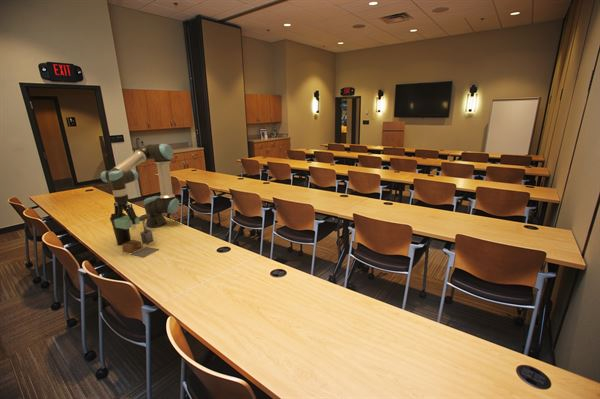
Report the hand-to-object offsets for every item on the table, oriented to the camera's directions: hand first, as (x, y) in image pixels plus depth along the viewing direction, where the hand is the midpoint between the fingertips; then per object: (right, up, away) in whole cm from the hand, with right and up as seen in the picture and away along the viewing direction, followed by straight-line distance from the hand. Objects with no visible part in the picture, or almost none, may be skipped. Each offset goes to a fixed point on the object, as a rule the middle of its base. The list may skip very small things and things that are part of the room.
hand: (128, 227), depth 191 cm
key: (+8, -4, +10) cm, 14 cm away
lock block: (+5, -12, +15) cm, 20 cm away
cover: (0, +2, -1) cm, 2 cm away
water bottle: (-12, -12, +16) cm, 23 cm away
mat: (+11, -16, 0) cm, 19 cm away
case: (+1, -15, +4) cm, 16 cm away
